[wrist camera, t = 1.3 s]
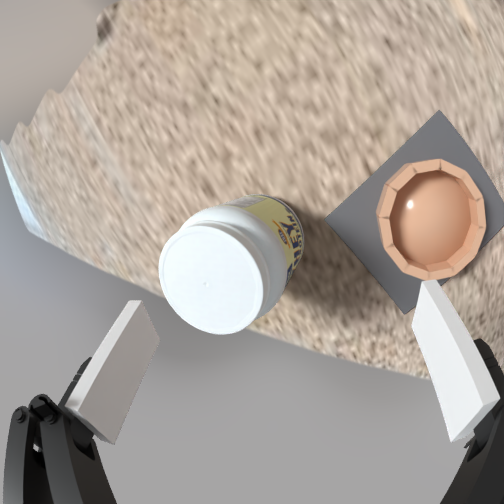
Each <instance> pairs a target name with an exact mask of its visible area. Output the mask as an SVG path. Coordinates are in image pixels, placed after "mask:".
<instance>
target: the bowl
mask: <svg viewBox="0 0 504 504" xmlns="http://www.w3.org/2000/svg"><path fill="white" fill-rule="evenodd" d="M376 216H377V222H378V227H379V233H380V238H381V242H382V245H383V247H384V249H385V251H386V252H387V253H388V254H389V256H390V257H391V258H392V259H393V261H394V262H395V263H396V265H397V266H398V267H399V268H400V270H401V271H402V272H403V273H406V274H409V275H411V276H414V277H417V278H420V279H422V280H425V281H427V280H435V279H436V280H438V279H443V278H447V277H452V276H454V275H456V274H457V273H458V272H459V271H461V270H462V269H463V268H464V267H465V266H466V265H467V264H468V263H469V262H470V261H471V260H472V259H474V258H475V256H476V254H477V252H478V249H479V247H480V244H481V241H482V239H483V236H484V233H485V230H486V219H485V208H484V199H483V196H482V194H481V193H480V191H479V189H478V188H477V186H476V185H475V183H474V182H473V180H472V178H471V177H470V175H469V174H468V173H467V172H466V171H465V170H463V169H461V168H459V167H457V166H455V165H453V164H451V163H449V162H447V161H444V160H442V159H429V160H423V161H417V162H412V163H406V164H404V165H403V166H402V167H401V168H400V169H399V170H398V171H397V172H396V173H395V174H394V175H393V176H392V177H391V178H390V179H389V180H388V181H386V182H385V184H384V187H383V190H382V193H381V197H380V200H379V203H378V206H377V210H376ZM474 255H475V256H474Z"/></svg>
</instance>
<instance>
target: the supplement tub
mask: <svg viewBox="0 0 504 504" xmlns="http://www.w3.org/2000/svg"><path fill="white" fill-rule="evenodd" d="M303 250H304V234H303V229H302V226H301V223H300V221H299V219H298V217H297V216H296V214H295V213H294V211H293V210H292V209H291V208H290V207H289V206H288V205H287V204H285V203H284V202H282V201H281V200H279V199H277V198H274V197H271V196H268V195H263V194H251V195H247V196H244V197H241V198H238V199H235V200H232V201H229V202H226V203H223V204H220V205H217V206H214V207H210V208H207V209H204V210H202V211H200V212H198V213H196V214H195V215H193V216H192V217H191V218H189V219H188V220H187V221H186V222H185V223H184V224H183V226H182V227H181V228H180V230H179V232H177V233H176V234H174V235H173V236H172V237H171V238H170V239H169V240H168V242H167V243H166V244H165V246H164V248H163V250H162V253H161V256H160V261H159V278H160V283H161V286H162V290H163V292H164V294H165V296H166V298H167V300H168V302H169V303H170V305H171V306H172V307H173V309H174V310H175V311H176V313H177V314H178V315H180V317H182V318H183V319H184V320H185V321H186V322H187V323H189V324H191V325H192V326H194V327H196V328H198V329H200V330H202V331H206V332H208V333H214V334H231V333H235V332H238V331H240V330H242V329H244V328H246V327H247V326H248V325H250V324H251V323H252V322H253V321H254V320H256V319H258V318H260V317H262V316H263V315H265V314H266V313H267V312H269V311H270V310H271V309H272V308H273V307H274V306H275V305H276V303H277V302H278V301H279V299H280V297H281V296H282V294H283V291H284V289H285V287H286V285H287V284H288V282H289V280H290V278H291V276H292V274H293V272H294V270H295V268H296V266H297V265H298V263H299V261H300V259H301V257H302V254H303Z"/></svg>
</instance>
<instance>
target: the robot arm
mask: <svg viewBox="0 0 504 504" xmlns="http://www.w3.org/2000/svg"><path fill="white" fill-rule="evenodd" d="M411 327H412V329H413V332H414V334H415V336H416V339H417V341H418V344H419V346H420V349H421V351H422V354H423V357H424V359H425V362H426V365H427V367H428V370H429V373H430V376H431V378H432V381H433V384H434V387H435V390H436V393H437V396H438V399H439V402H440V406H441V409H442V413H443V416H444V419H445V423H446V427H447V430H448V434H449V438H450V442H453V441H456V440H459V439H461V438H464V437H466V436H467V435H468V434H469V433H470V432H471V431H472V430H474V433H475V436H474V437H473V438H472V439H471V440H470V441H469V442H468V443H467V444H466V445H465V447H464V448H467V447H468V446H469V445H470V446H469V449H468V451H467V453H466V455H465V457H464V460H463V462H462V464H461V466H460V468H459V470H458V472H457V474H456V476H455V478H454V480H453V482H452V484H451V485H450V487H449V489H448V491H447V493H446V494H445V496H444V498H443V499H442V501H441V503H440V504H504V374H503V372H502V370H501V368H500V366H498V362H497V360H496V358H494V354H493V352H492V351H491V349H490V347H489V346H488V345H487V344H486V343H485V342H484V341H483V340H482V339H481V338H480V339H476V340H472V338H471V336H470V334H469V332H468V331H467V329H466V327H465V325H464V324H463V322H462V320H461V318H460V317H459V315H458V313H457V312H456V310H455V308H454V307H453V305H452V304H451V302H450V300H449V299H448V297H447V296H446V294H445V293H444V291H443V289H442V288H441V286H440V285H439V283H438V282H437V280H436V279H435V280H427V281H422V283H421V288H420V292H419V297H418V301H417V306H416V310H415V314H414V318H413V322H412V325H411ZM159 342H160V339H159V337H158V335H157V333H156V330H155V329H154V326H153V324H152V322H151V320H150V318H149V316H148V314H147V311H146V309H145V307H144V305H143V303H142V301H129V302H128V303H127V305H126V306H125V308H124V309H123V311H122V312H121V314H120V316H119V317H118V318H117V320H116V321H115V323H114V325H113V326H112V328H111V329H110V331H109V332H108V334H107V336H106V337H105V338H104V340H103V342H102V343H101V345H100V346H99V348H98V350H97V351H96V353H95V354H94V356H93V358H92V357H89V358H88V359H87V360H86V361H85V362H84V363H83V364H82V365H81V367H80V369H79V370H78V372H77V375H75V377H74V379H73V381H72V382H71V383H70V385H69V387H68V389H67V391H66V392H65V394H64V396H63V397H62V399H61V401H60V403H59V404H58V406H57V405H56V404H55V403H54V402H53V401H52V400H51V399H50V398H49V397H48V396H47V395H45V394H40V395H37V396H36V397H34V398H33V399H32V400H31V402H30V404H29V407H28V408H27V407H25V406H21V407H19V408H17V409H16V410H15V412H14V413H13V415H12V419H11V424H10V429H9V435H8V442H7V449H6V459H5V469H4V487H3V504H117V503H116V500H115V498H114V495H113V493H112V490H111V488H110V485H109V483H108V480H107V477H106V474H105V472H104V469H103V466H102V463H101V459H100V456H99V453H98V450H97V446H96V443H95V441H94V439H92V437H93V435H94V434H95V435H96V436H97V437H98V438H99V439H100V440H102V441H105V442H108V443H111V444H115V442H116V440H117V437H118V435H119V433H120V430H121V428H122V425H123V423H124V421H125V418H126V416H127V413H128V411H129V409H130V406H131V404H132V402H133V399H134V397H135V395H136V392H137V390H138V388H139V386H140V383H141V381H142V379H143V377H144V374H145V372H146V370H147V368H148V366H149V363H150V361H151V359H152V357H153V354H154V352H155V350H156V348H157V346H158V344H159ZM34 444H35V445H36V446H38V447H39V450H38V452H37V451H35V450H34V449H33V445H34Z"/></svg>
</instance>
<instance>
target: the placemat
mask: <svg viewBox="0 0 504 504" xmlns="http://www.w3.org/2000/svg"><path fill="white" fill-rule="evenodd" d="M429 159H442V160H444V161H447V162H449V163H451V164H453V165H455V166H457V167H459V168H461V169H463V170H465V171H466V172H467V173H468V174H469V175H470V177H471V178H472V180H473V182H474V183H475V185H476V186H477V188H478V189H479V191H480V193H481V194H482V196H483V199H484V208H485V219H486V230H485V233H484V236H483V239H482V241H481V244H480V247H479V249H478V252H479V251H480V250H481V249H482V248H483V247H484V246H485V245H486V244H487V243H488V242H489V241H490V239H491V238H492V237H493V236H494V235H495V234H496V233H497V232H498V231H499V230H500V229H501V228H502V227H503V226H504V202H503V200H502V199H501V197H500V195H499V193H498V191H497V190H496V188H495V186H494V185H493V183H492V181H491V180H490V178H489V176H488V175H487V173H486V172H485V170H484V168H483V167H482V165H481V164H480V162H479V161H478V159H477V158H476V156H475V155H474V154H473V152H472V151H471V149H470V148H469V146H468V145H467V144H466V142H465V141H464V140H463V138H462V137H461V136H460V134H459V133H458V132H457V131H456V129H455V128H454V127H453V125H452V124H451V123H450V122H449V121H448V119H447V118H446V117H445V116H444V115H443V113H442V112H441V111H440V110H438V111H437V112H436V113H435V114H434V115H433V116H432V117H431V118H430V119H429V120H428V121H427V122H426V123H425V124H424V125H423V126H422V127H421V128H420V129H419V130H418V131H417V132H416V133H415V134H414V135H413V136H412V137H411V138H410V139H409V140H408V141H407V142H406V143H405V144H404V145H403V146H402V147H401V148H400V149H399V150H398V151H397V152H395V153H394V154H393V155H392V156H391V157H390V158H389V159H388V160H387V161H386V162H385V163H384V164H383V165H382V166H381V167H380V168H379V169H378V170H377V171H376V172H375V173H374V174H372V175H371V176H370V177H369V178H368V179H367V180H366V181H365V182H364V183H363V184H362V185H361V186H360V187H359V188H358V189H357V190H355V191H354V192H353V193H352V194H351V195H350V196H349V197H348V198H347V199H346V200H345V201H344V202H343V203H341V204H340V205H339V206H338V207H337V208H336V209H335V210H334V211H333V212H332V213H331V214H330V215H328V216H327V217H326V218H325V219H324V220H325V221H326V222H327V224H328V225H329V226H330V227H331V228H332V229H333V230H334V231H335V232H336V233H337V235H338V236H339V237H340V238H341V239H342V240H343V241H344V242H345V244H346V245H347V246H348V247H349V248H350V249H351V250H352V252H353V253H354V254H355V255H356V256H357V257H358V258H359V260H360V261H361V262H362V263H363V264H364V265H365V267H366V268H367V269H368V270H369V271H370V273H371V274H372V275H373V276H374V277H375V279H376V280H377V281H378V282H379V283H380V285H381V286H382V287H383V288H384V290H385V291H386V292H387V293H388V295H389V296H390V297H391V298H392V300H393V301H394V302H395V303H396V305H397V306H398V307H399V308H400V310H401V311H402V312H403V314H406V313H407V312H408V311H410V310H411V309H412V308H414V307H415V306H416V305H417V301H418V297H419V292H420V288H421V283H422V281H425V280H422V279H420V278H417V277H414V276H411V275H409V274H406V273H403V272H402V271H401V270H400V268H399V267H398V266H397V265H396V263H395V262H394V261H393V259H392V258H391V257H390V256H389V254H388V253H387V252H386V251H385V249H384V247H383V245H382V242H381V238H380V233H379V227H378V222H377V216H376V210H377V206H378V203H379V200H380V197H381V193H382V190H383V187H384V184H385V182H386V181H388V180H389V179H390V178H391V177H392V176H393V175H394V174H395V173H396V172H397V171H398V170H399V169H400V168H401V167H402V166H403V165H404V164H406V163H412V162H417V161H423V160H429ZM449 278H450V277H447V278H443V279H438V280H437V282H438V283H439V285H440V286H441V285H442V284H443V283H444V282H446V281H447V280H448V279H449Z"/></svg>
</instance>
